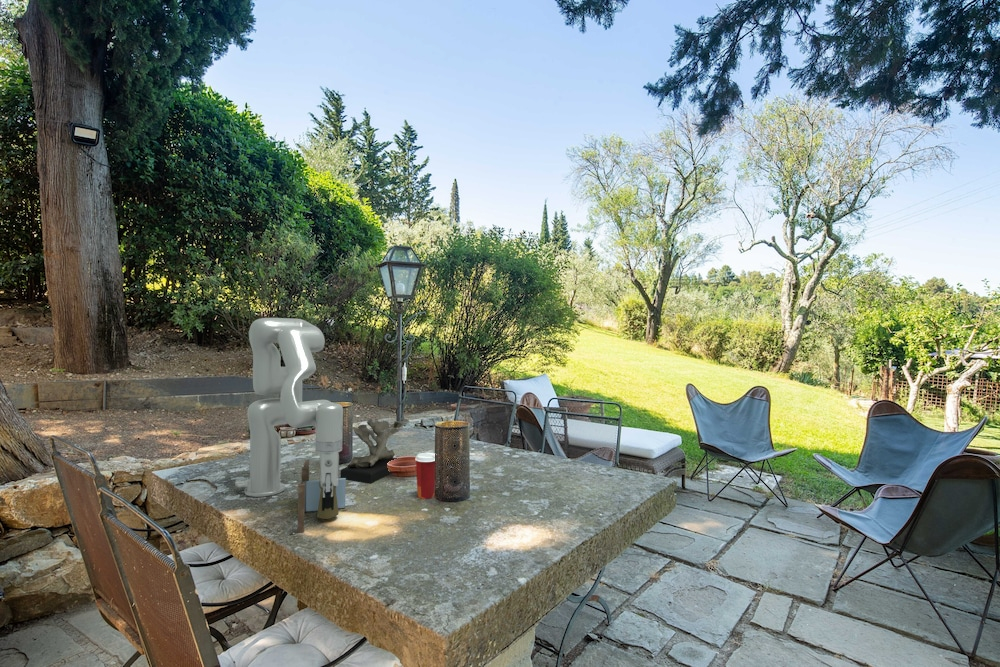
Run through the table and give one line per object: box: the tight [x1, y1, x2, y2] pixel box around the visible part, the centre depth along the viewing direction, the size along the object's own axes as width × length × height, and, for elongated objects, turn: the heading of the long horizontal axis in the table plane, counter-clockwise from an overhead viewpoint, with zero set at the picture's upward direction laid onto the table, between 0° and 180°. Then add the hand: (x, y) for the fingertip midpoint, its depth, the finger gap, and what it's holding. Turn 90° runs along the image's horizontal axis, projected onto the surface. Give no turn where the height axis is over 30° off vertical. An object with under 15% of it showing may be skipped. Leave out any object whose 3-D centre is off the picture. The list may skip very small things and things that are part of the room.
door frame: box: [297, 459, 310, 534], centre depth 145 cm, size 2×27×13 cm, turn 19°
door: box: [303, 477, 347, 513], centre depth 148 cm, size 1×12×9 cm, turn 109°
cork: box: [316, 477, 339, 520], centre depth 141 cm, size 6×6×11 cm
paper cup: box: [414, 452, 436, 500], centre depth 162 cm, size 8×8×14 cm
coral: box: [339, 418, 410, 485], centre depth 187 cm, size 25×20×22 cm
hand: (327, 506), depth 141 cm, fingers closed on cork, 3 cm apart
